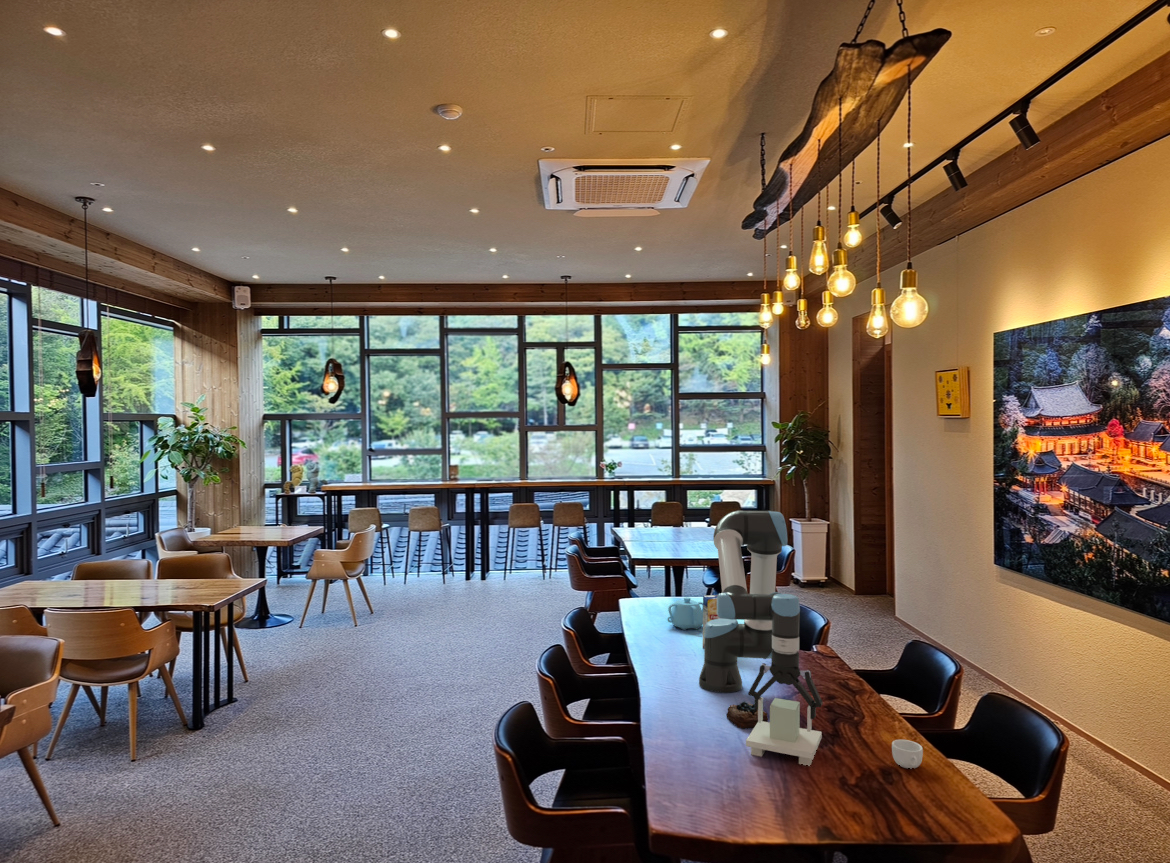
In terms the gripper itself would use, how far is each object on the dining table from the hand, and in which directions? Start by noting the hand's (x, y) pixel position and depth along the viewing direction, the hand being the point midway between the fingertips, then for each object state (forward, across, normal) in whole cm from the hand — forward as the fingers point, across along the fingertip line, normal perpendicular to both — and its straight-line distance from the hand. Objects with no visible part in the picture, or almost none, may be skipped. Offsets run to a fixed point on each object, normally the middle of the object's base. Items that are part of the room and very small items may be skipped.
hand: (784, 725), depth 208 cm
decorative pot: (+8, -67, +119) cm, 137 cm away
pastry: (+8, -15, +18) cm, 24 cm away
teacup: (+8, +32, +6) cm, 33 cm away
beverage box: (+8, -44, +89) cm, 100 cm away
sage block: (+3, 0, 0) cm, 3 cm away
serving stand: (+7, 0, 0) cm, 7 cm away
